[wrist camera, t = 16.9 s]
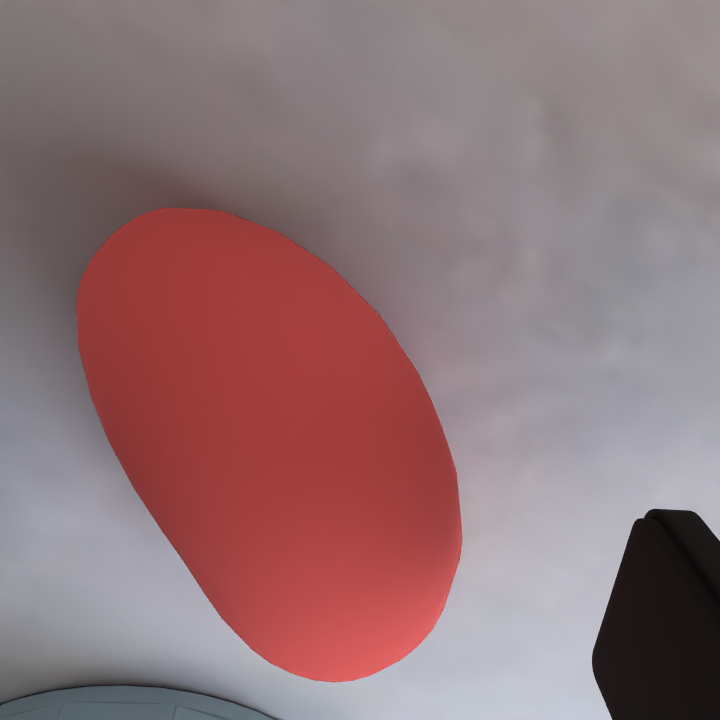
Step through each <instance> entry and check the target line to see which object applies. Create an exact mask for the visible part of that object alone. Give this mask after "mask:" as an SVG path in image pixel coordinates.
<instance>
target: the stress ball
mask: <svg viewBox="0 0 720 720" xmlns="http://www.w3.org/2000/svg"><path fill="white" fill-rule="evenodd" d="M76 312H77V327H78V346H79V352H80V356H81V360H82V363H83V367H84V371H85V374H86V378H87V382H88V386H89V390H90V394H91V398H92V401H93V403H94V406H95V408H96V411H97V413H98V416H99V418H100V421H101V423H102V426H103V428H104V431H105V433H106V435H107V438H108V440H109V443H110V445H111V447H112V448H113V450H114V452H115V454H116V456H117V458H118V460H119V461H120V463H121V465H122V467H123V469H124V471H125V473H126V474H127V476H128V478H129V480H130V482H131V484H132V486H133V487H134V489H135V491H136V492H137V494H138V495H139V497H140V498H141V500H142V501H143V503H144V504H145V506H146V507H147V509H148V510H149V512H150V513H151V515H152V516H153V518H154V519H155V521H156V522H157V524H158V525H159V527H160V528H161V530H162V531H163V533H164V534H165V536H166V537H167V538H168V540H169V541H170V543H171V544H172V545H173V547H174V548H175V550H176V551H177V553H178V554H179V555H180V557H181V558H182V560H183V561H184V563H185V564H186V566H187V567H188V569H189V570H190V572H191V573H192V575H193V576H194V578H195V579H196V581H197V583H198V584H199V586H200V587H201V589H202V591H203V592H204V594H205V595H206V596H207V598H208V599H209V601H210V602H211V604H212V605H213V606H214V608H215V609H216V611H217V612H218V614H219V615H220V616H221V618H222V619H223V620H224V621H225V622H226V623H227V624H228V625H229V626H230V627H231V628H232V629H233V630H234V632H235V633H236V634H237V635H238V636H239V637H240V638H241V639H242V640H243V641H244V642H245V643H246V644H247V645H248V646H249V647H250V648H251V649H252V650H253V651H254V652H256V653H257V654H259V655H260V656H261V657H263V658H264V659H265V660H267V661H268V662H269V663H271V664H273V665H275V666H278V667H280V668H282V669H284V670H286V671H288V672H290V673H293V674H295V675H298V676H301V677H305V678H308V679H312V680H316V681H326V682H343V681H353V680H356V679H360V678H363V677H367V676H370V675H372V674H374V673H376V672H378V671H380V670H382V669H384V668H386V667H388V666H390V665H392V664H394V663H396V662H397V661H399V660H401V659H402V658H404V657H405V656H406V655H407V654H409V653H410V652H411V651H412V650H414V649H415V648H416V647H417V646H419V644H420V643H421V642H422V641H423V640H424V638H425V637H426V636H427V635H428V634H429V633H430V631H431V630H432V629H433V627H434V626H435V624H436V622H437V620H438V618H439V617H440V615H441V613H442V611H443V609H444V606H445V603H446V600H447V597H448V594H449V591H450V588H451V585H452V582H453V579H454V576H455V573H456V569H457V566H458V563H459V560H460V554H461V546H462V527H461V515H460V505H459V494H458V484H457V473H456V470H455V466H454V462H453V459H452V456H451V453H450V450H449V447H448V444H447V441H446V438H445V435H444V432H443V429H442V426H441V424H440V421H439V418H438V416H437V413H436V411H435V408H434V406H433V404H432V401H431V399H430V397H429V395H428V393H427V390H426V388H425V386H424V384H423V382H422V380H421V378H420V376H419V374H418V372H417V371H416V369H415V368H414V366H413V365H412V363H411V361H410V360H409V358H408V357H407V355H406V354H405V352H404V351H403V349H402V348H401V346H400V345H399V343H398V342H397V340H396V339H395V337H394V336H393V334H392V333H391V331H390V330H389V328H388V327H387V325H386V324H385V322H384V321H383V319H382V318H381V316H380V315H379V314H378V313H377V312H376V311H375V310H374V309H373V308H372V307H371V306H370V305H369V304H368V303H367V302H366V301H365V300H364V299H363V298H362V297H361V296H360V295H359V294H358V293H357V292H356V291H355V290H354V289H353V288H352V287H351V286H350V285H349V284H348V283H347V282H346V281H345V280H344V279H343V278H342V277H341V276H340V275H339V274H338V273H337V272H336V271H335V270H334V269H333V268H332V267H331V266H329V265H328V264H326V263H325V262H323V261H322V260H320V259H319V258H317V257H316V256H314V255H313V254H311V253H310V252H308V251H307V250H305V249H304V248H302V247H301V246H299V245H298V244H296V243H295V242H293V241H292V240H290V239H289V238H287V237H286V236H284V235H283V234H281V233H279V232H276V231H274V230H272V229H269V228H266V227H264V226H261V225H258V224H256V223H253V222H250V221H248V220H245V219H243V218H240V217H237V216H235V215H232V214H229V213H227V212H222V211H217V210H205V209H190V208H161V209H156V210H152V211H150V212H147V213H145V214H142V215H140V216H138V217H136V218H134V219H133V220H131V221H129V222H127V223H126V224H125V225H123V226H122V227H121V228H119V229H118V230H117V231H116V232H114V233H113V234H112V235H111V236H110V237H109V238H108V239H107V240H106V241H105V242H104V243H103V245H102V246H101V247H100V248H99V250H98V251H97V252H96V253H95V255H94V256H93V258H92V259H91V261H90V263H89V264H88V266H87V267H86V270H85V272H84V274H83V276H82V279H81V281H80V285H79V289H78V292H77V301H76Z"/></svg>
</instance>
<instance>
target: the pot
mask: <svg viewBox="0 0 720 720" xmlns="http://www.w3.org/2000/svg"><path fill="white" fill-rule="evenodd" d="M0 720H274V719H272V718H270V717H268V716H266V715H264V714H262V713H260V712H257V711H254V710H251V709H248V708H246V707H243V706H240V705H237V704H234V703H232V702H229V701H225V700H221V699H217V698H213V697H209V696H205V695H201V694H197V693H191V692H185V691H178V690H172V689H166V688H156V687H141V686H89V687H81V688H72V689H64V690H55V691H51V692H46V693H41V694H37V695H32V696H28V697H23V698H20V699H17V700H14V701H11V702H8V703H5V704H2V705H0Z"/></svg>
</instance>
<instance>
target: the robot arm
mask: <svg viewBox="0 0 720 720" xmlns="http://www.w3.org/2000/svg"><path fill="white" fill-rule="evenodd" d="M592 667H593V672H594V676H595V679H596V682H597V684H598V687H599V689H600V691H601V694H602V696H603V698H604V701H605V703H606V706H607V708H608V710H609V713H610V715H611V717H612V720H720V541H719V540H718V539H717V537H716V536H715V535H714V534H713V532H712V531H711V530H710V529H709V528H708V526H707V525H706V524H705V523H704V521H703V520H702V519H701V518H700V517H699V516H698V515H697V514H696V513H695V512H692V511H685V510H666V509H652V510H649V511H648V512H647V514H646V515H645V517H644V518H640V519H637V520H636V521H635V522H634V525H633V527H632V530H631V533H630V536H629V539H628V542H627V546H626V549H625V552H624V555H623V558H622V561H621V564H620V568H619V571H618V574H617V577H616V580H615V583H614V586H613V590H612V593H611V596H610V599H609V602H608V605H607V609H606V612H605V615H604V618H603V621H602V624H601V627H600V631H599V634H598V637H597V640H596V643H595V646H594V649H593V654H592Z"/></svg>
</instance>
